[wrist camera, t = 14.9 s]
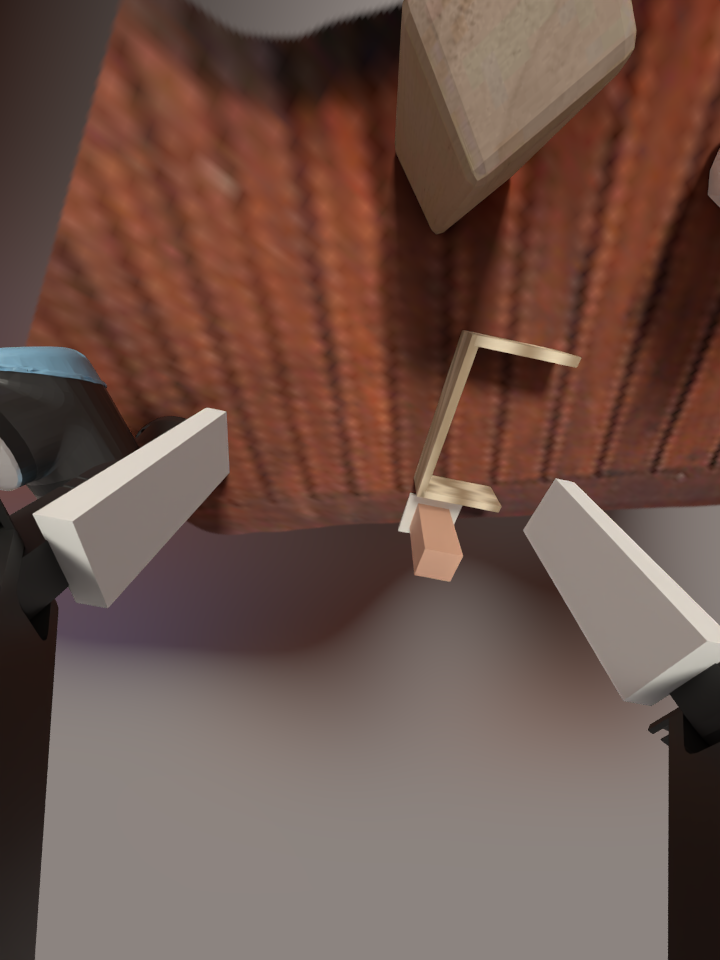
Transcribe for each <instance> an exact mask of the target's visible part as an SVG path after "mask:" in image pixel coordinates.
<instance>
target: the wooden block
mask: <svg viewBox="0 0 720 960" xmlns="http://www.w3.org/2000/svg"><path fill="white" fill-rule="evenodd" d="M635 38H636V26H635V20H634V14H633V8H632V2H631V0H404V1H403V5H402V23H401V41H400V59H399V77H398V95H397V114H396V132H395V149H396V154H397V156H398V158H399V161H400V163H401V165H402V167H403V169H404V171H405V174H406V176H407V178H408V180H409V182H410V184H411V187H412V189H413V191H414V193H415V195H416V197H417V200H418V202H419V204H420V206H421V208H422V211H423V213H424V215H425V217H426V219H427V221H428V224H429V226H430V228H431V230H432V231H433V232H434V233H435V234H440V233H443V232H445V231H446V230H447V229H448V228H449V227H451V226H452V225H453V224H454V223H456V222H457V221H458V220H459V219H460V218H462V217H463V216H464V215H465V214H467V213H468V212H469V211H470V210H471V209H473V208H474V207H475V206H476V205H478V204H479V203H480V202H481V201H482V200H484V199H485V198H486V197H487V196H489V195H490V194H491V193H492V192H493V191H495V190H496V189H497V188H498V187H500V186H501V185H502V184H503V183H504V182H506V181H507V180H508V179H509V178H510V177H512V176H513V175H514V174H515V173H516V172H517V171H518V170H519V169H520V168H521V167H522V166H523V165H524V164H525V163H526V162H527V161H528V160H529V159H530V158H531V157H532V156H533V155H534V154H535V153H536V152H537V151H538V150H539V149H540V148H542V147H543V146H544V145H545V144H546V143H547V142H548V141H549V140H550V139H551V138H552V137H553V136H554V135H555V134H556V133H557V132H558V131H559V130H560V129H561V128H562V127H563V126H564V125H565V124H566V123H567V122H568V121H569V120H570V119H572V118H573V117H574V116H575V115H576V114H577V113H578V112H579V111H580V110H581V109H582V108H583V107H584V106H585V105H586V104H587V103H588V102H589V101H590V100H591V99H592V98H593V97H594V96H595V95H596V94H597V93H598V92H599V91H601V90H602V89H603V88H604V87H605V86H606V85H607V84H608V83H609V82H610V81H611V80H612V79H613V78H614V77H615V76H616V75H617V74H618V73H619V71H620V70H621V68H622V67H623V66H624V64H625V63H626V61H627V60H628V59H629V57H630V56H631V54H632V52H633V50H634V46H635Z"/></svg>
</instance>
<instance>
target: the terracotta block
mask: <svg viewBox="0 0 720 960" xmlns="http://www.w3.org/2000/svg"><path fill="white" fill-rule="evenodd" d="M410 537H411V547H412V557H413V566H414V575H417V576H423V577H428V578H433V579H438V580H443V581H449V582H450V581H451V579H452V576H453V575H454V573H455V571H456V569H457V567H458V565H459V563H460V561H461V559H462V557H463V554H462V551H461V547H460V544H459V541H458V537H457V534H456V531H455V527H454V524H453V520H452V517H451V514H450V510H449V509H445V508H440V507H435V506H430V505H425V504H419V503H418V505H417V508H416V510H415V513H414V516H413V519H412V522H411V525H410Z"/></svg>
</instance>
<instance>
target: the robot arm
mask: <svg viewBox="0 0 720 960" xmlns="http://www.w3.org/2000/svg"><path fill="white" fill-rule="evenodd" d="M106 388H107V385H106V384H105V382H103V381H101V379H100V377H99V376H98V374H97V373H96V371H95V369H94V368H93V366H92V365H91V363H90V361H89V360H88V359H87V358H86V357H85V356H84V355H83V354H81V353H80V352H78V351H76V350H73V349H69V348H64V347H10V348H0V490H6V491H10V490H14V489H16V488H19V487H21V486H23V485H27V486H28V488H29V489H30V490H31V491H32V492H33V494H34V495H35V496H36V497H37V500H36V501H34V502H32V503H30V504H29V505H27V506H25V507H24V508H22V509H20V510H18V511H17V512H15V513H13V514H11V515H10V516H9V514H8V512H7V510H6V508H5V507H4V505H3V503H2V501H1V499H0V960H35V945H36V932H37V916H38V902H39V887H40V873H41V872H40V871H41V857H42V842H43V828H44V813H45V799H46V784H47V770H48V754H49V741H50V726H51V725H50V724H51V711H52V696H53V682H54V667H55V652H56V638H57V623H58V605H57V602H56V600H55V598H56V597H57V596H58V595H59V594H60V593H62V591H64V590H65V589H66V588H67V587H69V589H70V591H71V593H72V595H73V597H74V599H75V601H76V602H77V603H82V604H88V605H93V606H99V607H104V608H109V606H110V605H111V604H112V603H113V602H114V601H115V600H116V598H117V597H118V596H119V595H120V594H121V593H122V592H123V591H124V590H125V589H126V587H127V586H128V585H129V584H130V583H131V582H132V581H133V580H134V579H135V577H136V576H137V575H138V574H139V573H140V571H142V569H143V568H144V567H145V566H146V565H147V564H148V563H149V562H150V561H151V560H152V558H153V557H154V556H155V555H156V554H157V553H158V552H159V551H160V549H161V548H162V547H163V546H164V545H165V544H166V543H167V542H168V541H169V540H170V538H171V537H172V536H173V535H174V534H175V533H176V532H177V531H178V529H179V528H180V527H181V526H182V525H183V524H184V523H185V522H186V521H187V519H188V518H189V517H190V516H191V515H192V514H193V513H194V512H195V511H196V509H197V508H198V507H199V506H200V505H201V504H202V503H203V502H204V500H205V499H206V498H207V497H208V496H209V495H210V494H211V493H212V492H213V490H214V489H215V488H216V487H217V486H218V485H219V484H220V483H221V482H222V480H223V479H224V478H225V477H226V476H227V475H228V474H229V454H228V434H227V414H226V411H221V410H216V409H211V408H205V409H203V410H202V411H200V412H198V413H197V414H195V415H194V416H192V417H190V418H189V419H185V418H181V417H175V416H166V417H161V418H158V419H156V420H154V421H152V422H150V423H148V424H147V425H145V426H144V427H143V428H142V429H141V430H140V431H139V432H138V434H137V435H136V438H135V439H134V437H133V435H132V434H131V432H130V430H129V428H128V427H127V425H126V423H125V421H124V419H123V418H122V416H121V414H120V412H119V411H118V409H117V407H116V405H115V404H114V402H113V400H112V398H111V396H110V395H109V393H108V391H107V389H106ZM523 531H524V533H525V534H526V536H527V538H528V540H529V541H530V543H531V545H532V546H533V548H534V550H535V551H536V553H537V555H538V557H539V558H540V560H541V562H542V563H543V565H544V567H545V568H546V570H547V572H548V574H549V575H550V577H551V578H552V580H553V582H554V584H555V586H556V587H557V589H558V590H559V592H560V594H561V596H562V597H563V599H564V601H565V602H566V604H567V606H568V608H569V609H570V611H571V613H572V614H573V616H574V618H575V619H576V621H577V623H578V625H579V626H580V628H581V629H582V631H583V633H584V635H585V637H586V638H587V640H588V642H589V643H590V645H591V647H592V648H593V650H594V652H595V654H596V655H597V657H598V659H599V660H600V662H601V664H602V665H603V667H604V669H605V670H606V672H607V674H608V676H609V677H610V679H611V681H612V683H613V684H614V686H615V687H616V689H617V691H618V693H619V694H620V696H621V698H622V699H623V701H627V702H633V703H638V704H643V705H649V706H652V705H654V704H656V703H657V702H659V701H660V700H662V699H663V698H665V697H666V696H668V695H669V694H670V695H671V696H672V698H673V699H674V701H675V702H676V704H677V705H678V706H679V707H678V708H677V709H675V710H673V711H672V712H670V713H669V714H667V715H665V716H663V717H662V718H660V719H659V720H657V721H655V722H654V723H652V724H650V726H649V728H648V731H650V732H651V733H652V734H654V733H656V732H657V731H659V730H661V729H665V730H667V731H669V735H667V736H665V737H664V738H662V739H661V740H662V741H663V742H664V743H665V744H667V745H668V746H669V839H668V840H669V841H668V842H669V843H668V844H669V848H668V852H669V854H668V855H669V856H668V865H669V866H668V960H720V626H719V625H718V624H717V623H716V622H715V621H714V620H713V619H712V618H711V617H710V616H709V615H708V614H707V613H706V612H705V611H704V610H703V609H702V608H701V607H700V606H699V605H698V604H697V603H696V602H695V601H694V600H693V599H692V598H691V597H690V596H689V595H688V594H687V593H686V592H685V591H684V590H683V589H682V588H681V587H680V586H679V585H678V584H676V582H675V581H674V580H672V578H671V577H670V576H669V575H668V574H667V573H666V572H664V571H663V570H662V569H661V568H660V567H659V566H658V565H657V564H656V563H655V562H654V561H653V560H652V559H651V558H650V557H649V556H648V555H647V554H646V553H645V552H644V551H643V550H642V549H641V548H640V547H639V546H638V545H637V544H636V543H635V542H634V541H633V540H632V539H631V538H630V537H629V536H628V535H627V534H626V533H625V532H624V531H623V530H622V529H621V528H620V527H619V526H618V525H617V524H616V523H615V522H614V521H613V520H612V519H611V518H610V517H609V516H608V515H607V514H606V513H605V512H604V511H603V510H602V509H601V508H600V507H598V506H597V505H596V504H595V503H594V502H593V501H592V500H591V499H590V498H589V497H588V496H587V495H586V494H585V493H584V492H583V491H582V490H581V489H580V488H579V487H578V486H577V485H576V484H575V483H574V482H570V481H565V480H560V479H555V480H554V482H553V483H552V485H551V486H550V488H549V490H548V491H547V493H546V494H545V496H544V498H543V499H542V501H541V503H540V504H539V506H538V507H537V509H536V511H535V512H534V514H533V515H532V517H531V519H530V520H529V522H528V523H527V525H526V527H525V528H524V530H523Z"/></svg>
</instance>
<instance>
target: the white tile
mask: <svg viewBox="0 0 720 960" xmlns="http://www.w3.org/2000/svg"><path fill="white" fill-rule="evenodd" d="M418 503H419V504H425V505H430V506H435V507H440V508H445V509H449V510H450V514H451V517H452V520H453V524H454V523H455V521H456V519H457V517H458V514H459V512H460V510H461V508H462V506H463V505H458V504H453V503H448V502H443V501H438V500H433V499H428V498H423V497H417V495H416V494H414V493H410V494H409V497H408V500H407V503H406V506H405V509H404V512H403V515H402V518H401V522H400V525H399V528H398V531H401V532H406V533H410V525H411V522H412V519H413V516H414V513H415V510H416V508H417V505H418Z"/></svg>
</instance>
